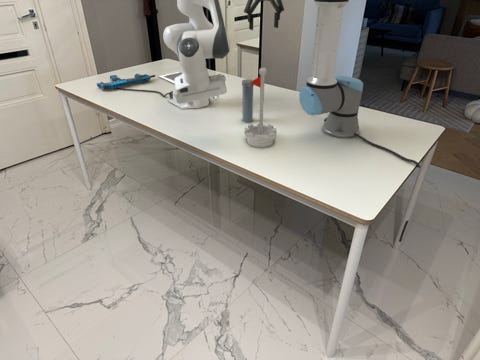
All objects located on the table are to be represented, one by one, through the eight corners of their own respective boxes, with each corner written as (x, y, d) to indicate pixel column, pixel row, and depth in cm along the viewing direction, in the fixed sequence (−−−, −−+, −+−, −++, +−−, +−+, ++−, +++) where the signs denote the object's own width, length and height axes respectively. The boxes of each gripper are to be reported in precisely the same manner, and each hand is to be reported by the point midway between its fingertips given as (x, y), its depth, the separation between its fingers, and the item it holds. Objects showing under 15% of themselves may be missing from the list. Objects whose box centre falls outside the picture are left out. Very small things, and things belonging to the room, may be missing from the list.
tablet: (158, 76, 219) (158, 76, 218) (184, 71, 230) (184, 70, 229) (185, 88, 198) (185, 88, 198) (213, 81, 209) (213, 81, 209)
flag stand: (267, 132, 148) (271, 61, 132) (281, 144, 138) (286, 70, 122) (240, 137, 144) (240, 65, 128) (252, 150, 134) (253, 74, 118)
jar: (240, 121, 159) (240, 82, 149) (245, 117, 162) (245, 79, 153) (249, 123, 157) (250, 84, 147) (254, 119, 161) (255, 81, 151)
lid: (239, 85, 150) (239, 81, 149) (245, 82, 154) (245, 78, 153) (250, 87, 148) (250, 83, 147) (255, 84, 151) (255, 80, 150)
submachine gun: (141, 68, 225) (159, 74, 208) (142, 74, 227) (160, 80, 210) (89, 78, 206) (104, 86, 190) (91, 84, 208) (106, 92, 192)
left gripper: (223, 67, 128) (227, 91, 140) (170, 79, 127) (178, 103, 139) (226, 79, 125) (230, 103, 137) (172, 91, 124) (181, 114, 137)
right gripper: (284, -24, 159) (281, 25, 170) (236, -23, 150) (236, 29, 161) (293, -24, 153) (290, 27, 165) (244, -22, 144) (243, 31, 156)
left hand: (203, 103), depth 138 cm, fingers open, 8 cm apart
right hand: (263, 28), depth 163 cm, fingers open, 13 cm apart
